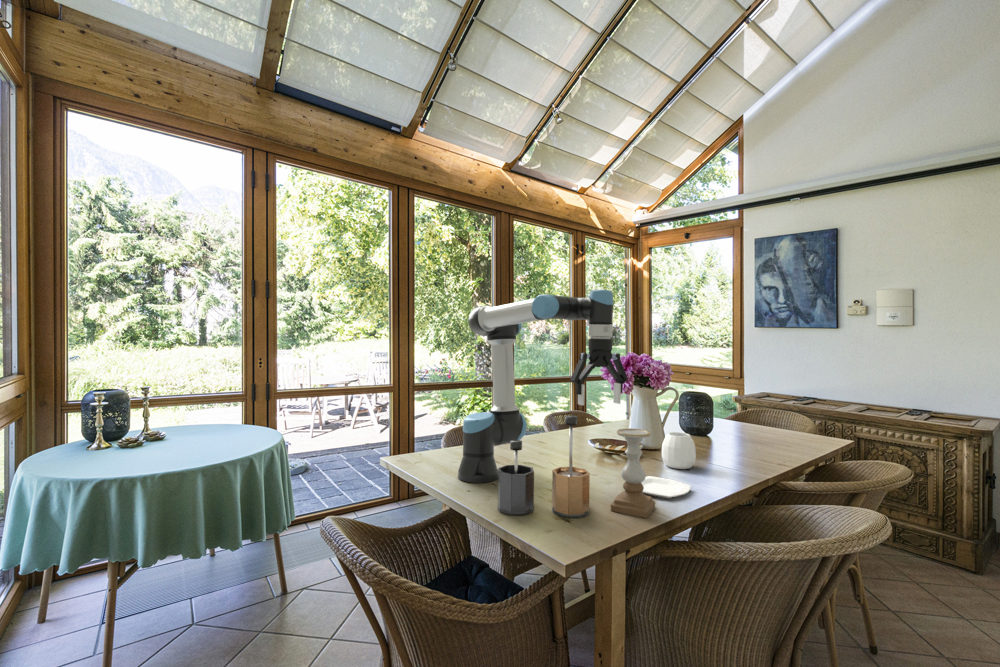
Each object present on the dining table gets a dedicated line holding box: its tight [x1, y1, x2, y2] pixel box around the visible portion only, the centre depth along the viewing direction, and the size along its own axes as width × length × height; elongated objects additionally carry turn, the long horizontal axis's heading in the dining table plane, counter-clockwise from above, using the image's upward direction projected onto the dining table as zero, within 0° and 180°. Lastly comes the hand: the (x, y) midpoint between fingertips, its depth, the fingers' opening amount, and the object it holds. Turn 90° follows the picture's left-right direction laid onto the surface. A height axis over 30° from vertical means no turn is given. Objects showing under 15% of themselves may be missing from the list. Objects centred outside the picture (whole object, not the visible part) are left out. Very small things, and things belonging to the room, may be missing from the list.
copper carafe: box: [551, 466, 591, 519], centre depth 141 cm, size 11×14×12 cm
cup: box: [661, 431, 697, 470], centre depth 190 cm, size 13×13×14 cm
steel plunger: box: [509, 439, 523, 474], centre depth 142 cm, size 8×8×19 cm
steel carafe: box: [497, 464, 535, 517], centre depth 143 cm, size 11×14×12 cm
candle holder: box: [610, 428, 656, 519], centre depth 143 cm, size 11×11×24 cm
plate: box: [641, 475, 692, 499], centre depth 161 cm, size 19×19×2 cm
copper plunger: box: [558, 415, 583, 476], centre depth 140 cm, size 8×8×19 cm
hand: (599, 404), depth 149 cm, fingers open, 13 cm apart
